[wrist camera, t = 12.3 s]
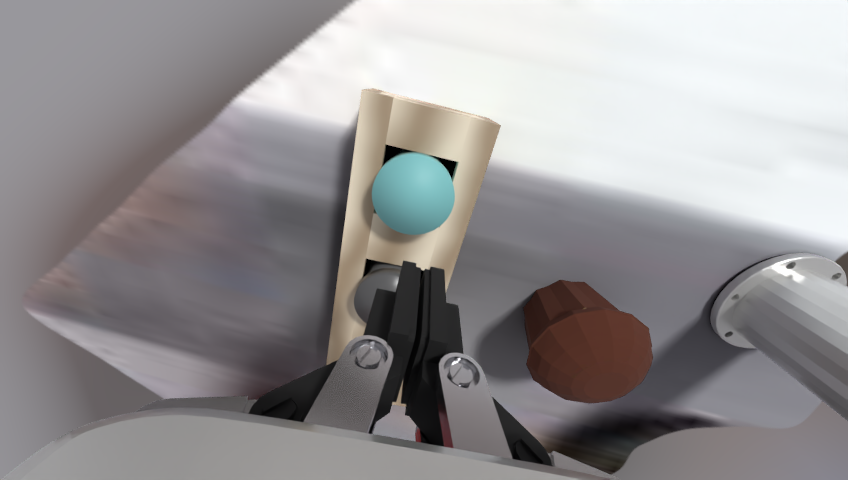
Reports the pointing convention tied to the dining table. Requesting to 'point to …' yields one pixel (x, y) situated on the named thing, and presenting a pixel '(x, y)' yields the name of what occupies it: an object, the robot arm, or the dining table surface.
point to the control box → (363, 229)
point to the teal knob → (413, 193)
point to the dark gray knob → (375, 286)
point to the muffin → (584, 344)
